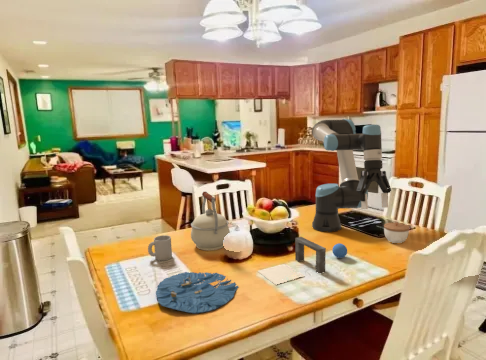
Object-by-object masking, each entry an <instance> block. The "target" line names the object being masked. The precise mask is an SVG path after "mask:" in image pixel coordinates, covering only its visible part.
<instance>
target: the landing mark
mask: <svg viewBox="0 0 486 360" xmlns="http://www.w3.org/2000/svg"><path fill="white" fill-rule="evenodd" d="M293 270H294V272H293ZM295 270H296V269H294V268H293V267H292V266H289V265H288V264H287V263H283V264H279V265H275V266H271V267H267V268H264V269H259V270H257V273H259V275H261V276H263V277H264V278H265V279H267V280H268V281H270V282H271V283H272V284H274V285H275V286H278V285H281V284H280V283H282V284H285V283H288V282H287V280H286V277H289V276H290V277H292V276H291V275H293V274H294V273H295ZM290 271H291V272H290ZM292 272H293V273H292ZM296 274H297V272H296V273H295V274H294V275H296ZM287 275H288V276H287ZM297 275H299V276H300V275H301V276H300V277H302V278H305V277H304V276H305V275H304V274H302V272H299V274H297ZM285 276H286V277H285ZM299 276H298V277H299ZM290 277H289V280H290ZM294 277H295V276H294ZM284 278H285V280H284ZM282 279H283V280H282ZM292 281H295V280H294V279H293V280H292ZM284 282H285V283H284ZM277 284H278V285H277Z"/></svg>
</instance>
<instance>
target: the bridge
mask: <svg viewBox="0 0 486 360" xmlns="http://www.w3.org/2000/svg"><path fill="white" fill-rule="evenodd" d="M294 239H295V241H294V242H295V243H294V244H295V251H294V252H295V253H294V255H295V261H296V262H302V260H303V261H305V247H307V248H309V249H311V250H313V251H315V273H317V272H318V273H321V274H324V273H326V251H327V249H326V247H324V246H322V245H320V244H318V243H315V242H313V241H311V240H309V239H307V238H305V237H303V236H298V237H295V238H294ZM323 272H324V273H323ZM318 273H317V274H318Z"/></svg>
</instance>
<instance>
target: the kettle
mask: <svg viewBox="0 0 486 360" xmlns="http://www.w3.org/2000/svg"><path fill="white" fill-rule="evenodd" d="M201 195H202V198H203V200H202V205H201V210H202V211H201V212H202V213H201V214H199V215H197V216H196V217H195V218H194V219H193V221H192V222H191V223H190V226H191V230H190V238H191V241H192V242H193V243H194V245H195V247H196V248H198V249H199V250H202V251H216V250H220V249H223V248H224V247H223V240H224V237H225V236H226V235H227V234H228V233H230V234H231V232H230V228H229V223H230V222H229V220H227V219H226V217H225V216H224V215H222V214H220V213H218V212H217V210H216V200H217V199H216V197H215V196H213V195H211V194H210V193H208V192H207V191H203V192H202V194H201ZM206 201H208V202H210V203H211V208H212V209H211V208H208V209H207V210H206Z"/></svg>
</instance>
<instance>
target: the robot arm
mask: <svg viewBox="0 0 486 360" xmlns="http://www.w3.org/2000/svg"><path fill="white" fill-rule="evenodd" d="M356 130H357V129H356V126H355V123H354V122H353V120H352V119H349V118H348V119H345V118H341V119H323V120H320V121H318V122H316V123H315V124H314V125H313V127H311V134H312V137H313V138H314V139H315V140H317V141H320V142H323V147H324V149H325V151H331V152H334V151H336V155H337V160H338V167H339V173H340V178H341V182H340V184H338V183H324V184H320V185H318V186H317V187H316V190H315V214H314V217H313V220H312V224H311V228H312V227H313V228H314V229H313V228H312V229H313V230H315V229H316V231H318V230H319V231H318V232H323V231H328V232H327V233H331V232H332V231H334V232H338V230H339V231H340V230H341V229H342V223H341V219H340V217H339V209H361V210H368V209H369V205H368V202H369V201H368V200H369V190H368V189H369V187H370V185H371V183H372V182H376V184H377V185H378V188H380V190H381V193H380V194H381V208H386V209H387V208H389V194H390V193H391V192H392V188H391V185H390V182H389V179H388V177H387V172H386V171H385V170H381V169H383V160H382V159H383V155H382V152H383V151H382V150H383V148H382V129H381V125H380V124H367V125H364V126H362V133H357V132H356ZM354 151H361V152H362V151H363V160H364V162H363V166H364V167H363V168H364V170H361V171H360V178H359V177H358V176H359V175H358V172H357V166H356V161H355V155H354ZM332 233H333V232H332Z"/></svg>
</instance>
